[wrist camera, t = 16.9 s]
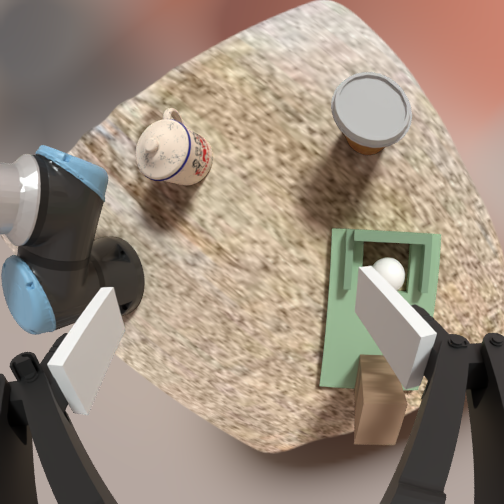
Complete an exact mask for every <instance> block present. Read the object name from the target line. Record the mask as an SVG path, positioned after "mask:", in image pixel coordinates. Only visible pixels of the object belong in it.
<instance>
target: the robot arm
mask: <svg viewBox="0 0 504 504" xmlns="http://www.w3.org/2000/svg"><path fill="white" fill-rule="evenodd" d="M107 184H108V175H107V172H106V171H105V170H104V169H103V168H101V167H99V166H97V165H95V164H92V163H90V162H87V161H85V160H82V159H80V158H77V157H74V156H72V155H69V154H66V153H64V152H61V151H59V150H56V149H53V148H51V147H48V146H45V145H42V146H40V147H39V149H38V150H37V152H36V155H30V154H24V155H22V156H21V157H19V158H18V159H17V160H16V161H15V162H14V163H13V164H7V163H0V234H5V235H6V236H7V238H8V239H9V240H10V242H11V243H12V244H13V245H15V246H18V253H17V256H16V255H12V256H10V257H9V258H7V259H6V261H5V263H4V264H3V267H2V274H1V277H2V287H3V292H4V296H5V300H6V303H7V305H8V308H9V310H10V312H11V314H12V316H13V318H14V319H15V320H16V322H17V323H18V324H19V326H20V327H21V328H22V329H24V330H25V331H26V332H28V333H30V334H35V335H36V334H41V333H45V332H52V331H54V330H57V329H60V328H62V327H65V326H68V325H70V324H73V323H75V324H74V325H73V327H72V328H71V330H70V331H69V333H65V334H63V335H62V336H60V337H59V338H58V339H57V340H56V342H55V343H54V344H53V347H51V349H50V350H49V352H48V353H47V354H46V356H45V357H44V359H43V360H42V362H41V363H40V364H39V362H38V359H37V358H36V356H35V354H34V353H31V352H24V353H21V354H19V355H17V356H16V357H15V358H14V359H12V361H11V363H10V368H11V370H12V372H13V374H14V376H15V377H16V379H17V381H13V382H8V381H7V380H6V378H5V376H4V375H3V374H0V504H38V501H37V493H36V486H35V475H34V463H33V446H32V438H33V441H34V444H35V447H36V450H37V453H38V456H39V458H40V461H41V464H42V467H43V469H44V472H45V474H46V477H47V479H48V482H49V484H50V487H51V489H52V491H53V494H54V496H55V498H56V500H57V502H58V504H118V503H117V502H116V500H115V499H114V497H113V496H112V494H111V493H110V491H109V490H108V488H107V486H106V485H105V483H104V482H103V480H102V478H101V477H100V475H99V474H98V472H97V470H96V469H95V467H94V465H93V463H92V461H91V460H90V458H89V456H88V454H87V452H86V450H85V449H84V447H83V445H82V443H81V441H80V439H79V437H78V435H77V433H76V431H75V429H74V427H73V424H72V422H71V420H70V418H69V416H68V414H67V413H66V411H65V410H66V407H67V405H68V404H69V406H70V408H71V410H72V411H73V413H77V414H84V415H89V412H90V410H91V407H92V405H93V402H94V400H95V397H96V395H97V392H98V390H99V388H100V385H101V383H102V381H103V378H104V376H105V374H106V372H107V369H108V367H109V365H110V362H111V360H112V358H113V356H114V354H115V351H116V349H117V347H118V345H119V343H120V340H121V338H122V336H123V334H124V332H125V327H124V323H123V320H122V316H123V315H126V314H128V313H130V312H132V311H133V310H134V309H135V308H136V307H137V306H138V304H139V303H140V301H141V298H142V295H143V291H144V273H143V268H142V265H141V262H140V259H139V257H138V255H137V253H136V252H135V250H134V249H133V248H132V247H131V246H130V245H129V244H128V243H127V242H126V241H124V240H123V239H121V238H118V237H102V238H98V239H96V240H94V237H95V233H96V229H97V225H98V221H99V217H100V213H101V210H102V206H103V202H105V192H106V188H107ZM355 313H356V314H357V316H358V317H359V319H360V320H361V322H362V323H363V325H364V326H365V328H366V329H367V331H368V332H369V334H370V335H371V337H372V338H373V340H374V341H375V343H376V344H377V346H378V348H379V349H380V351H381V352H382V354H383V355H384V357H385V358H386V360H387V362H388V363H389V365H390V366H391V368H392V369H393V371H394V373H395V374H396V376H397V377H398V379H399V381H400V382H401V384H402V385H403V387H404V389H405V390H406V389H410V388H413V387H416V386H420V384H421V381H422V379H423V376H425V377H426V379H427V380H428V382H427V385H426V388H425V390H424V393H423V395H422V398H421V399H422V401H421V405H420V408H419V411H418V414H417V417H416V420H415V423H414V426H413V428H412V431H411V434H410V437H409V439H408V442H407V444H406V447H405V450H404V452H403V454H402V457H401V460H400V462H399V464H398V466H397V469H396V471H395V473H394V475H393V478H392V480H391V482H390V484H389V486H388V488H387V491H386V493H385V494H384V497H383V498H382V500H381V502H380V504H445V500H446V494H445V493H444V492H443V491H444V487H445V483H446V480H447V477H448V473H449V470H450V467H451V462H452V459H453V455H454V451H455V447H456V442H457V438H458V433H459V429H460V423H461V418H462V412H463V406H464V400H465V393H466V395H467V401H468V408H469V416H470V424H471V433H472V443H473V459H474V486H475V487H474V489H475V490H474V493H475V494H474V496H475V497H474V504H504V336H502V335H501V334H498V333H488V334H486V335H485V336H484V338H483V341H482V343H476V344H470V343H469V342H468V340H467V339H466V338H464V337H463V336H460V335H457V334H448V333H447V332H446V331H445V330H444V329H443V328H442V326H441V325H440V324H439V323H438V322H437V321H436V320H434V318H433V317H432V316H430V314H429V313H428V312H427V311H426V310H425V309H424V308H422V307H420V306H418V305H416V304H414V305H410V304H409V303H408V302H407V301H406V300H405V299H404V298H403V297H402V296H401V295H400V294H399V293H398V292H397V291H396V290H395V289H394V288H393V287H392V286H391V285H390V284H389V283H388V282H387V281H386V280H385V279H384V278H383V277H382V276H381V275H380V274H379V273H378V272H377V271H376V270H375V269H374V268H373V267H372V266H365V267H359V270H358V282H357V292H356V302H355Z"/></svg>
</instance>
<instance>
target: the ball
mask: <svg viewBox="0 0 504 504" xmlns="http://www.w3.org/2000/svg"><path fill="white" fill-rule="evenodd" d="M372 267H373V268H374V269H375V270H376V271H377V272H378V273H379V274H380V275H381V276H382V277H383V278H384V279H385V280H386V281H387V282H388V283H389V284H390V285H391V286H392V287H393V288H394V289H395V290H396V291H398V290H399V289H400V288H401V287H402V285H403V283H404V279H405V272H404V268H403V266H402V265H401V263H400V262H399V261H397V260H396V259H393V258H389V257H386V258H382V259H379V260H378V261H376V262H375V263H374V265H373V266H372Z"/></svg>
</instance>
